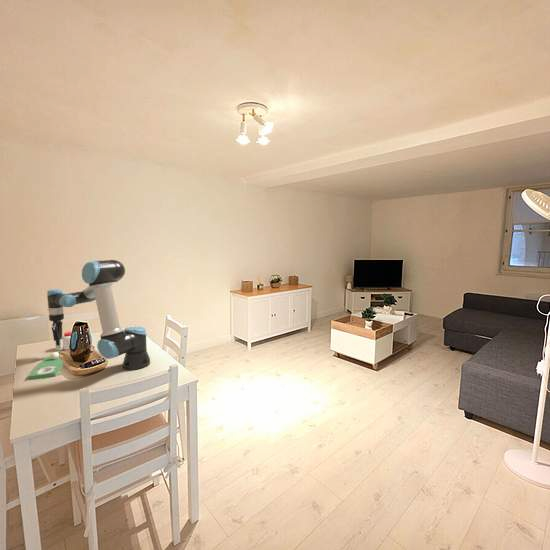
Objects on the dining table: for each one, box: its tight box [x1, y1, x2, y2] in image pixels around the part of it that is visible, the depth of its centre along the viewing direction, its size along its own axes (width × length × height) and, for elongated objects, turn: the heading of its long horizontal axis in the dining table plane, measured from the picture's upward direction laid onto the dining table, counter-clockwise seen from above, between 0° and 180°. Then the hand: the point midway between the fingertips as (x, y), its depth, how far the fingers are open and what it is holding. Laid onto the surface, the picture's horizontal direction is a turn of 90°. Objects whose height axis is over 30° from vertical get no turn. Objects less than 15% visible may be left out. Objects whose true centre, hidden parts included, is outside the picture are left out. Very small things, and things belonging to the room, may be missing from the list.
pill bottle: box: [61, 331, 72, 350], centre depth 207 cm, size 8×8×11 cm
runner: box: [28, 355, 64, 381], centre depth 177 cm, size 12×28×2 cm, turn 21°
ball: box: [50, 351, 60, 359], centre depth 184 cm, size 4×4×4 cm
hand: (59, 349), depth 192 cm, fingers closed
